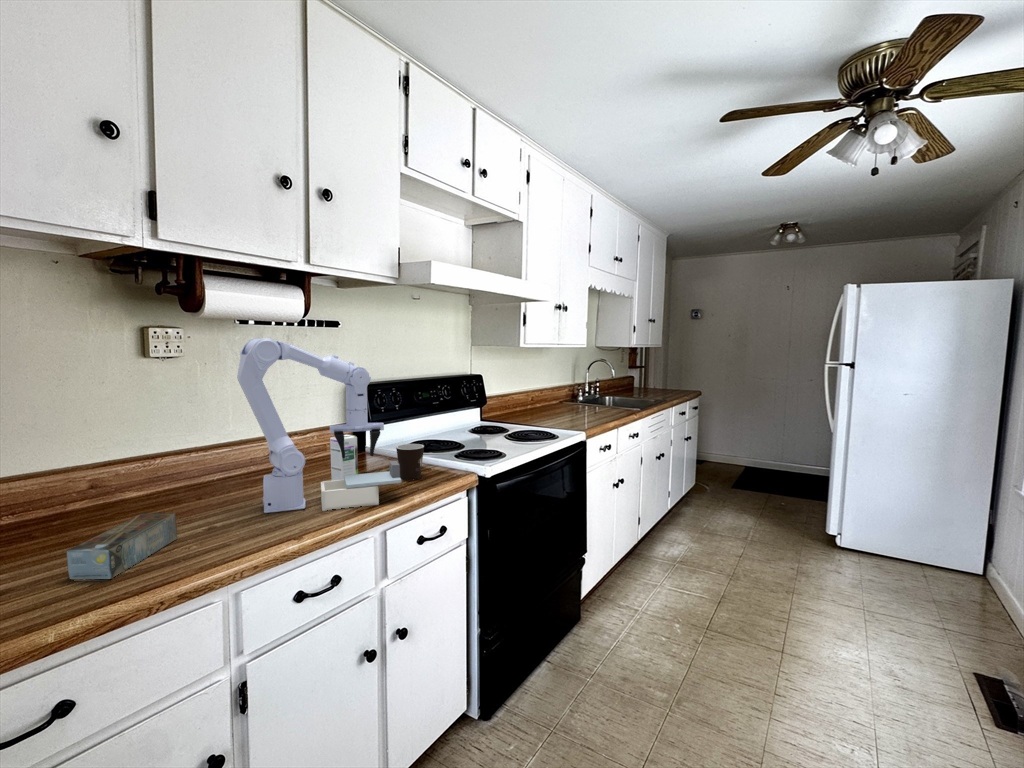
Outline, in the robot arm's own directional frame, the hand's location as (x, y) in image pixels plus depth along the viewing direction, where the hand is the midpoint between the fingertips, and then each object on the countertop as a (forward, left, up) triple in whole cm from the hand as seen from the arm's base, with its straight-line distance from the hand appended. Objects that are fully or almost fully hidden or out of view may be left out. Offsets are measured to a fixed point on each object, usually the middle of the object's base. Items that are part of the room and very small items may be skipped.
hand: (357, 456), depth 139 cm
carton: (-3, -8, -10) cm, 13 cm away
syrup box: (-3, +11, -11) cm, 16 cm away
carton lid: (+3, -8, -5) cm, 10 cm away
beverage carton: (-46, -28, -11) cm, 55 cm away
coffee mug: (+18, +11, -11) cm, 24 cm away
